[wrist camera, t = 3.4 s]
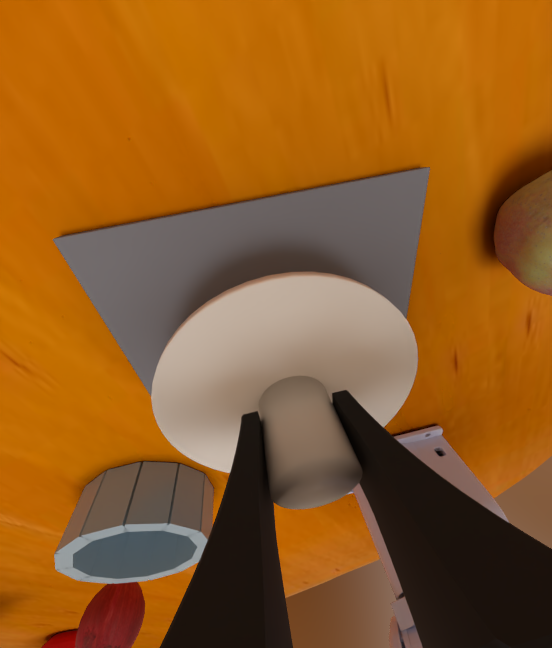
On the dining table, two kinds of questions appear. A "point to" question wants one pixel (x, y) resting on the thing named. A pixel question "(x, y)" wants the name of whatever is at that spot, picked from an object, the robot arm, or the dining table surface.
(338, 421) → the lid
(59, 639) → the beverage can
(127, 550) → the bowl
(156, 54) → the dining table surface
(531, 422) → the dining table surface
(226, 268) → the mat
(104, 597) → the onion
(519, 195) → the apple
